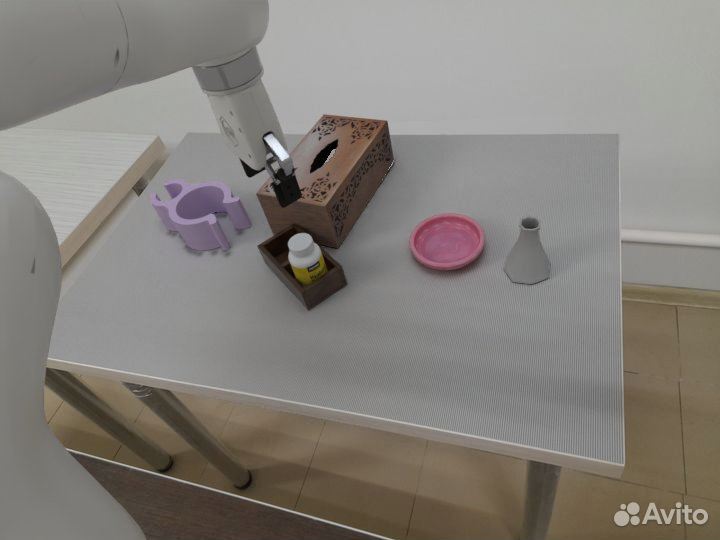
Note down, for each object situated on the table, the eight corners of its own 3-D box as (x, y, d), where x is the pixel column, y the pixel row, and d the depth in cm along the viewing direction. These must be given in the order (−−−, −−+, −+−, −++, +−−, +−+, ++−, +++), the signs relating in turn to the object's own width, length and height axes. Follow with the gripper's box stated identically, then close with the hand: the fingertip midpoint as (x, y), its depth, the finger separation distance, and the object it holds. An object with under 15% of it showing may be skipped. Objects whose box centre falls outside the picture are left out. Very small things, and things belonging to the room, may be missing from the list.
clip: (151, 232, 108) (134, 207, 103) (192, 195, 115) (178, 170, 110) (219, 259, 99) (204, 233, 94) (260, 217, 105) (248, 190, 100)
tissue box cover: (334, 154, 115) (323, 114, 107) (394, 162, 109) (387, 120, 101) (273, 233, 100) (256, 193, 93) (337, 248, 94) (325, 206, 87)
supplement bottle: (318, 298, 87) (302, 258, 80) (293, 287, 89) (275, 248, 82) (336, 275, 89) (322, 234, 82) (311, 266, 92) (296, 225, 85)
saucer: (456, 289, 83) (455, 276, 81) (397, 258, 90) (394, 245, 88) (499, 242, 88) (499, 228, 86) (440, 216, 95) (439, 203, 93)
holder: (308, 311, 86) (301, 293, 83) (265, 263, 96) (257, 245, 93) (347, 284, 89) (342, 266, 85) (301, 240, 98) (294, 222, 95)
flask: (555, 282, 81) (561, 236, 73) (507, 287, 82) (509, 243, 74) (545, 249, 86) (550, 203, 78) (500, 254, 87) (500, 209, 79)
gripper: (171, 61, 63) (223, 174, 76) (231, 105, 52) (281, 230, 65) (225, 36, 66) (267, 150, 78) (293, 74, 55) (330, 200, 67)
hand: (273, 186), depth 71 cm, fingers open, 9 cm apart
